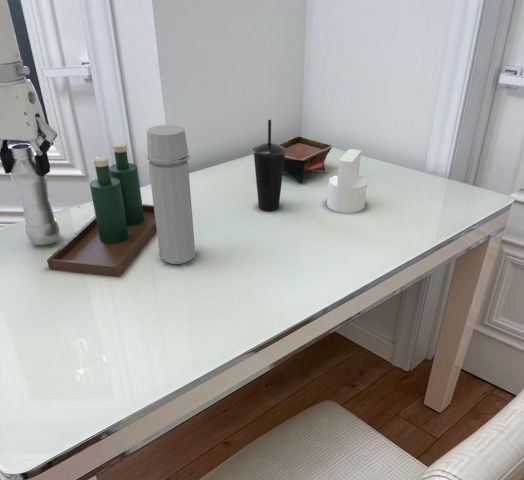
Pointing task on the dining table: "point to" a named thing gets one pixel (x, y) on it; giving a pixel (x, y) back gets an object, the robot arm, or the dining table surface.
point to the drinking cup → (269, 172)
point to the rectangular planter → (304, 156)
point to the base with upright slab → (347, 185)
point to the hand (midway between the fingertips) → (27, 171)
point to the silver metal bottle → (33, 197)
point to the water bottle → (171, 192)
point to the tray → (103, 248)
